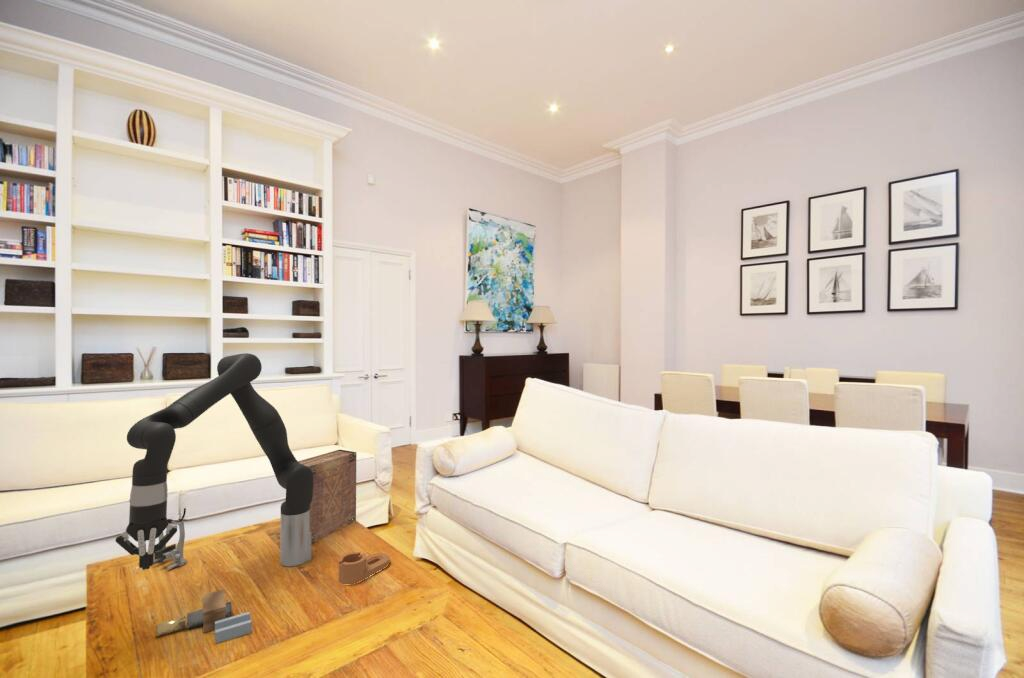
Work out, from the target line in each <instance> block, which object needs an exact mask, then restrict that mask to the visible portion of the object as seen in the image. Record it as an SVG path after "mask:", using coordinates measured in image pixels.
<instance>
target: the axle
mask: <svg viewBox="0 0 1024 678" xmlns="http://www.w3.org/2000/svg"><path fill="white" fill-rule="evenodd" d="M225 604H226V618H229V617H233V615H232V614H233V613H232V610H233V609H232V601H228V602H225ZM186 616H187V617H186V627H187V629H186V630H188V629H194V628H196V627H199V626H203V608H202V609H198V610H195V611H191V612H187V613H186Z"/></svg>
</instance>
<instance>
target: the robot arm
mask: <svg viewBox="0 0 1024 678" xmlns="http://www.w3.org/2000/svg"><path fill="white" fill-rule="evenodd" d="M216 366H217V367H216V371H217V372H216V373H217V375H218V376H216V377H214V378H213V379H211V380H209V381H207V382H206V383H203V384H202V385H199V386H197V387H195V388H194V389H191V390H189V391H188V392H186V393H184V395H182V396H180V397H179V398H178V399H176V400H175V401H173V402H172V403H170V404H169V405H168V406H166V407H165V408H163V409H160V410H157V411H156V412H153V413H152V414H150V415H147V416H145V417H144V418H141V419H140V420H138V421H137V422H135V423H134V424H133V425H132V426H131V427H130V429H129V430H128V431H127V435H126V442H127V443H128V445H129V446H131V447H132V448H134V449H140V450H146V452H145V453H146V454H145V456H144V458H141V459H139V460H137V461H136V462H134V464H133V467H132V474H131V475H132V476H131V477H132V478H131V488H130V493H129V494H130V495H129V497H130V498H129V518H128V519H129V520H128V525H127V526H126V529H125V530H124V531H123V532H121V533H120V534H117V535H116V538H115V542H116V543H117V545H119V546H120V547H121V548H123V549H124V550H125V551H126V552H127V553H128V554H129V555H131V556H135V555H136V556H137V555H138V557H139V559H138V561H139V563H138V567H139V569H142V571H145V570H149V569H150V567H152V566H153V565H154V563H153V562H154V553H155V552H156V551H158V550H161V549H162V548H163V547H164V546H165V545H166V546H167V544H168V543H169V541H170V540H171V539H172V538H173V536H174V535H176V534H177V532H178V525H175V524H174V525H173V524H171V523H169V521H168V519H169V518H167V516H168V515H167V513H168V512H167V510H168V492H169V491H168V490H169V489H168V480H167V479H168V463H169V462H170V460H171V455H172V453H173V451H174V447H175V444H176V436H177V434H176V429H182V428H185V427H188V425H190V424H191V423H193V421H195V420H197V419H198V418H199V417H201V415H203V414H204V413H205V412H206V411H208V410H209V409H210V408H212V407H213V406H214V405H216V404H217V403H219V402H220V401H221V400H222V399H224V398H226V397H227V396H228V395H230V396H231V397H232V398H233V400H234V401H235V403H236V405H237V406H238V407H239V410H240V411H241V413H242V415H243V416H244V418H245V420H246V422H247V424H248V426H249V429H250V430H251V432H252V433H253V435H254V437H255V440H256V442H257V443H258V444H259V447H260V448H261V449H262V451H263V453H264V454H265V456H266V457H267V459H268V461H269V464H270V466H271V467H272V470H273V474H274V476H275V479H276V482H277V483H278V485H279V486H281V487H282V488H283V489H285V501H283V502H282V503H281V505H280V540H279V541H280V546H279V547H280V549H279V550H280V551H279V554H280V555H279V556H280V558H279V559H280V560H279V561H280V565H281V566H283V567H291V568H292V567H296V566H301V565H303V564H305V563H307V562H309V561H312V544H311V531H310V504H311V502H312V498H313V472H312V470H311V469H310V468H309V467H307V466H305V465H303V464H300V463H299V462H298V461H299V460H298V459H296V457H295V455H294V453H293V452H292V450H291V448H290V446H289V445H290V444H289V441H288V432H287V428H286V425H285V422H284V421H283V419H282V417H281V415H280V414H279V412H278V410H277V409H276V408H275V407H274V406H273V405H272V404H271V403H270V402H269V401H267V400H266V399H265V398H264V397H262V396H261V395H260V394H259V393H258V392H257V391H256V390H255V388H254V387H253V385H252V383H251V382H253V381H254V380H256V379H258V377H260V374H261V372H262V363H261V360H260V359H259V357H258V356H256V354H252V353H247V352H245V353H238V354H233V355H227V356H225V357H222V358H221V359H220V360H218V363H217V365H216ZM164 531H165V535H164V537H163V538H162V539H161V540H160V542H159V541H158V543H156V540H157V539H159V536H160V535H161V533H162V532H163V533H164ZM130 537H131V538H132V539H133V540H134V541H135V542H137V543H138V544H137V545H138V547H137V545H135V544H134V543H133V542H131V540H129V538H130ZM147 541H148V549H147Z"/></svg>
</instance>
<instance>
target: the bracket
mask: <svg viewBox="0 0 1024 678" xmlns="http://www.w3.org/2000/svg"><path fill="white" fill-rule="evenodd" d="M390 559H391V558H390V555H389V554H387V553H383V552H377V553H373V554H369V555H367V554H366V553H361V552H360V551H351V552H348V553H345V554H343V555H341V556H340V557H339V558H338V583H339V582H340V583H342V584H354V583H357V582H359V581H361V580H363V579H365V578H367V577H369V576H370V575H372V574H374V573H376V572H377V571H379V570H381V569H383V568H384V567H386V566H387V565H389V566H390V564H391V563H390ZM389 563H390V564H389ZM342 584H341V585H342Z"/></svg>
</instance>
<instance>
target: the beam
mask: <svg viewBox="0 0 1024 678" xmlns="http://www.w3.org/2000/svg"><path fill="white" fill-rule="evenodd" d="M225 603H226V596H225V589H220V590H216V591H212V592H208V593H204V594H202V609H203V625H202V632H203V633H207V632H211V631H215V621H219V620H222V619H226V604H225Z"/></svg>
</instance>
